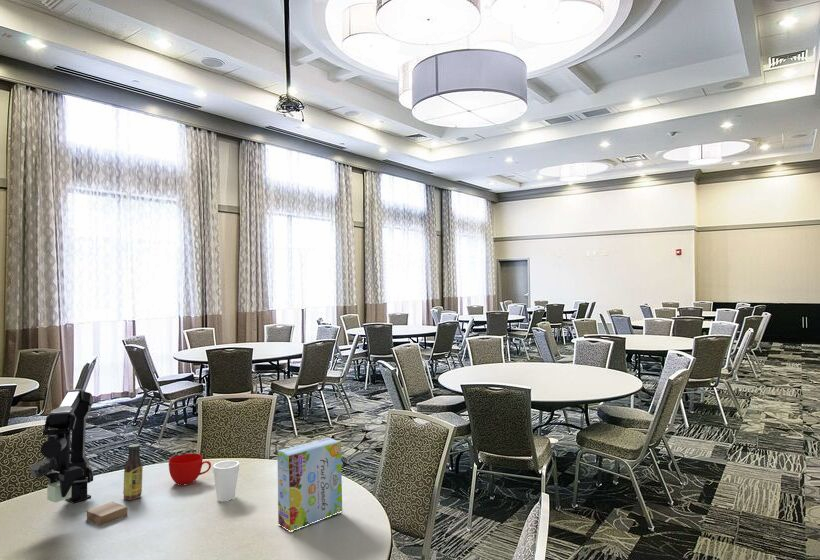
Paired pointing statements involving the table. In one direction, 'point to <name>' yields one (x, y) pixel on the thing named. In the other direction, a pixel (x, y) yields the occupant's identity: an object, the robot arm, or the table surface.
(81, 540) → the table surface
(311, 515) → the snack box
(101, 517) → the walnut block
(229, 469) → the foam cup
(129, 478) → the sauce bottle
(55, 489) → the sage cube
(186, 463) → the ceramic cup
